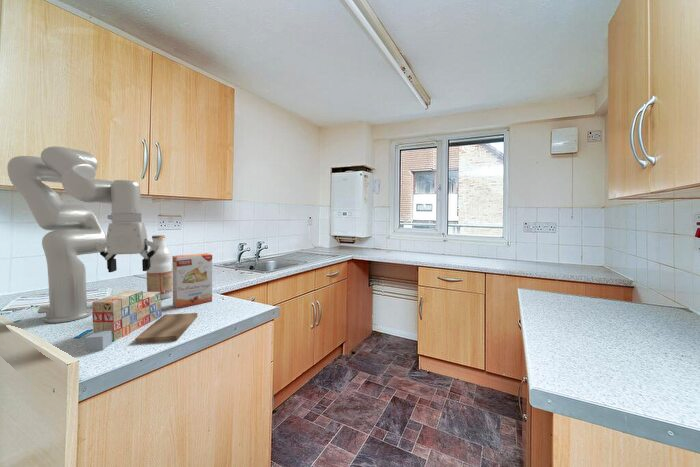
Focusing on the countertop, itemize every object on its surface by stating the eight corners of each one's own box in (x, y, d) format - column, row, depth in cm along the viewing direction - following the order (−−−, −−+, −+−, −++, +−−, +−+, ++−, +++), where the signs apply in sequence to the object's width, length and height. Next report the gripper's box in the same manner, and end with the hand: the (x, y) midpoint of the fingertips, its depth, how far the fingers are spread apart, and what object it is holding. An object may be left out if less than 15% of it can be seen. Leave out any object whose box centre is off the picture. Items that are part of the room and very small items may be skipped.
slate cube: (86, 351, 78) (85, 337, 78) (95, 345, 82) (95, 331, 81) (103, 350, 79) (102, 336, 78) (111, 343, 83) (111, 330, 82)
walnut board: (135, 343, 83) (135, 338, 83) (164, 318, 102) (164, 314, 102) (176, 340, 85) (176, 335, 85) (197, 316, 105) (197, 312, 105)
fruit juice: (146, 301, 121) (144, 236, 119) (148, 296, 129) (146, 235, 127) (172, 298, 126) (170, 236, 124) (172, 293, 134) (171, 234, 132)
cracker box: (177, 308, 113) (176, 257, 111) (172, 305, 117) (171, 255, 115) (213, 301, 123) (212, 254, 122) (207, 298, 127) (207, 252, 126)
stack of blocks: (145, 315, 105) (144, 283, 104) (162, 316, 105) (161, 283, 104) (93, 341, 84) (91, 301, 83) (114, 342, 84) (112, 301, 83)
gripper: (87, 219, 86) (90, 274, 87) (151, 219, 90) (153, 272, 91) (103, 218, 93) (106, 269, 94) (162, 218, 97) (163, 268, 98)
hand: (129, 270), depth 93 cm, fingers open, 9 cm apart
